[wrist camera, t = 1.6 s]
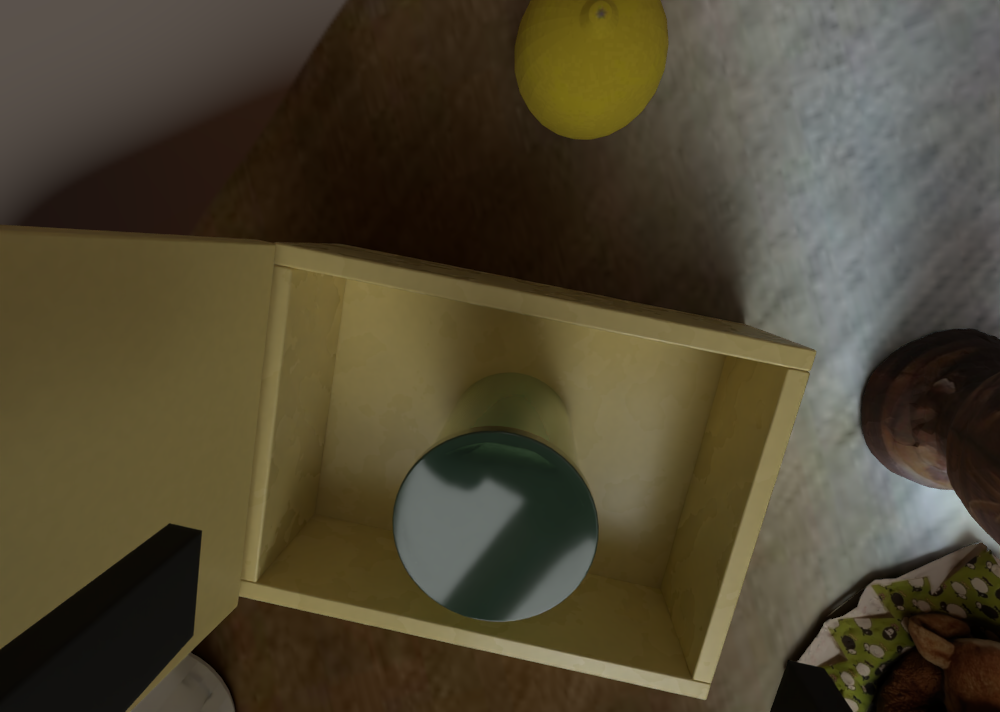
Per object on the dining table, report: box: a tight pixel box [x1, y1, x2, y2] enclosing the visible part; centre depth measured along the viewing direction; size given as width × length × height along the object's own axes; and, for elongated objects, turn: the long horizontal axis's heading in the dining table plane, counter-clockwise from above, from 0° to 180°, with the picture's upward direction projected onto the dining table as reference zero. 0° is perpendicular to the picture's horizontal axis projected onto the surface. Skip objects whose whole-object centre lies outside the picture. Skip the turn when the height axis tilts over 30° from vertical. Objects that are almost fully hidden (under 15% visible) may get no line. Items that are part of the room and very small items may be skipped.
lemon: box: [514, 0, 668, 140], centre depth 20 cm, size 6×6×8 cm
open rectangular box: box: [239, 242, 816, 700], centre depth 24 cm, size 20×15×7 cm
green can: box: [392, 373, 599, 622], centre depth 22 cm, size 7×7×10 cm
